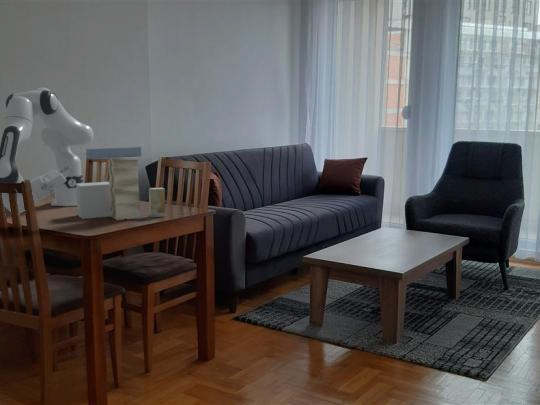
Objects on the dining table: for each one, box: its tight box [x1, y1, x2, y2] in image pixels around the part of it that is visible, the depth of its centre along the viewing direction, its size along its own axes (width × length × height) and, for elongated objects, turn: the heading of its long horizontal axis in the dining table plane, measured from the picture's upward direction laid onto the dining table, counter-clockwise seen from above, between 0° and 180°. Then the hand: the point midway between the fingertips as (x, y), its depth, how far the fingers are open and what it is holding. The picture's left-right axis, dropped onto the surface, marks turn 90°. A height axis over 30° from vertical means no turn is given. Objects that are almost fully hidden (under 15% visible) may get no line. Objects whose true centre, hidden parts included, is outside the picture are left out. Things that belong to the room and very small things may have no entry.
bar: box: [85, 146, 142, 160], centre depth 260 cm, size 4×22×4 cm, turn 118°
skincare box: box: [148, 187, 166, 218], centre depth 268 cm, size 6×4×12 cm
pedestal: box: [106, 157, 141, 221], centre depth 264 cm, size 11×11×26 cm
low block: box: [76, 181, 111, 220], centre depth 270 cm, size 10×14×14 cm
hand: (70, 168), depth 253 cm, fingers open, 8 cm apart
